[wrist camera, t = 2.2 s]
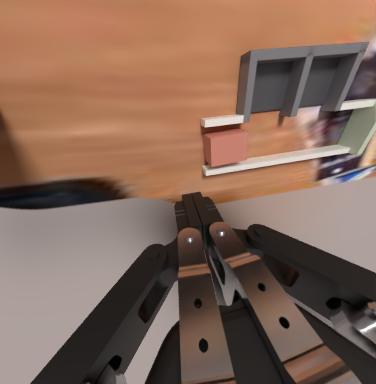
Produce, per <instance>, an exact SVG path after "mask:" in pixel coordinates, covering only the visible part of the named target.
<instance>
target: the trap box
mask: <svg viewBox="0 0 376 384" xmlns="http://www.w3.org/2000/svg"><path fill="white" fill-rule="evenodd" d="M368 44H369V42H360V43H346V44H331V45H317V46H303V47H289V48H274V49H260V50H251V51H249V52H247V53H245V54H244V55H242V56H241V63H240V74H239V86H238V98H237V109H236V114H235V115H226V116H218V117H210V118H201V126H203V127H213V126H221V125H229V124H237V123H245V122H249V119H250V113H253V112H261V111H270V110H278V109H280V114H279V116H288V117H292V116H296V115H297V111H298V108H299V107H303V106H312V105H320V104H322V106H321V109H320V111H340V110H347V109H354V110H353V112H352V115H351V117H350V119H349V121H348V123H347V125H346V127H345V129H344V131H343V133H342V135H341V137H340V139H339V142H338V144H337V145H332V146H325V147H319V148H313V149H306V150H300V151H293V152H287V153H280V154H274V155H268V156H261V157H255V158H248V159H246V160H245V161H240V162H235V163H230V164H225V165H220V166H215V167H211V166H210V165H203V166H202V171H203V172H204V174H205V175H206V176H209V175H215V174H221V173H227V172H233V171H239V170H246V169H252V168H258V167H264V166H270V165H276V164H282V163H288V162H294V161H301V160H307V159H313V158H319V157H325V156H331V155H337V154H343V153H351V154H355V155H360V154H362V152H363V150H364V149H365V147H366V145H367V143H368V142H369V140H370V138H371V137H372V135H373V133H374V132H375V130H376V99H360V100H352V101H344V99H345V97H346V95H347V92H348V90H349V88H350V86H351V83H352V81H353V79H354V76H355V74H356V72H357V69H358V67H359V65H360V63H361V60H362V58H363V56H364V53H365V51H366V49H367V46H368Z"/></svg>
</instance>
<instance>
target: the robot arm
mask: <svg viewBox="0 0 376 384" xmlns="http://www.w3.org/2000/svg"><path fill="white" fill-rule="evenodd" d="M175 214H176V221H177V227H178V235H177V237H176V239H175V240H174V241H173V242H171V243H170V244H168V245H166V246H163V245H162V244H153V245H150V246H148V247H147V248H146V249H145V250H144V251H143V252H142V253H141V255H140V256H139V257H138V258H137V259H136V260H135V262H134V263H133V264H132V265H131V266H130V268H129V269H128V270H127V271H126V272H125V273H124V275H123V276H122V277H121V278H120V279H119V280H118V282H117V283H116V284H115V285H114V286H113V287H112V289H111V290H110V291H109V292H108V293H107V295H106V296H105V297H104V298H103V299H102V300H101V301H100V303H99V304H98V305H97V306H96V307H95V308H94V310H93V311H92V312H91V313H90V314H89V316H88V317H87V318H86V319H85V320H84V321H83V323H82V324H81V325H80V326H79V327H78V328H77V330H76V331H75V332H74V333H73V334H72V335H71V337H70V338H69V339H68V340H67V341H66V342H65V344H64V345H63V346H62V347H61V348H60V350H59V351H58V352H57V353H56V354H55V355H54V357H53V358H52V359H51V360H50V361H49V363H48V364H47V365H46V366H45V367H44V368H43V370H42V371H41V372H40V373H39V374H38V375H37V376H36V378H35V379H34V380H33V381H32V382H31V383H30V384H126V378H125V376H124V373H125V371H126V369H127V368H128V366H129V364H130V362H131V360H132V359H133V357H134V355H135V353H136V351H137V350H138V348H139V346H140V344H141V342H142V340H143V339H144V337H145V335H146V333H147V331H148V329H149V328H150V326H151V324H152V322H153V320H154V319H155V317H156V315H157V313H158V311H159V310H160V308H161V306H162V304H163V302H164V301H165V299H166V297H167V295H168V293H169V291H170V289H171V288H172V286H173V284H174V282H175V281H177V280H178V297H179V321H178V322H176V324H175V325H174V326H173V327H172V328H171V329H170V331H169V332H168V334H167V335H166V337H165V339H164V341H163V343H162V345H161V347H160V349H159V351H158V354H157V356H156V358H155V361H154V363H153V365H152V368H151V370H150V372H149V374H148V377H147V379H146V382H145V384H376V273H375V272H372V271H370V270H367V269H365V268H363V267H360V266H358V265H356V264H353V263H351V262H349V261H346V260H344V259H341V258H339V257H337V256H335V255H332V254H330V253H327V252H325V251H323V250H320V249H318V248H316V247H313V246H311V245H308V244H306V243H304V242H302V241H299V240H297V239H294V238H292V237H290V236H287V235H285V234H282V233H280V232H278V231H275V230H273V229H271V228H269V227H266V226H264V225H260V224H253V225H250V226H249V227H248V229H247V230H240V229H233V228H231V226H230V225H228V224H227V223H224V221H223V219H222V217H221V215H220V213H219V212H218V210H217V209H216V206H215V205H214V203H213V201H212V200H211V199H210V198H209V197H202V195H201V192H195V193H190V194H184V195H182V201H180V202H176V204H175ZM205 248H208V250H209V254H210V260H211V263H212V265H213V267H214V270H215V272H216V275H217V277H218V280H219V282H220V285H221V287H222V290H223V294H224V298H225V302H226V305H227V306H223V305H218V303H217V299H216V294H215V289H214V285H213V281H212V276H211V272H210V269H209V267H208V265H207V260H206V256H205V252H204V249H205ZM287 293H288V294H289V295H291V296H292V297H294V298H296V299H297V300H299V301H300V302H302V303H303V304H305V305H306V306H308V307H310V308H311V309H313V310H314V311H316V312H318V313H319V314H321V315H322V316H324V317H325V318H327V319H328V320H330V321H331V322H332V324H333V329H332V328H331V327H329V326H328V325H327V324H325V323H323V322H322V321H321V320H319V319H318V318H316V317H315V316H313V315H312V314H311V313H309V312H308V311H306V310H305V309H303V308H302V307H300V306H299V305H297V304H295V303H293V302H292V300H291V299H290V297H289V296H288V295H287Z"/></svg>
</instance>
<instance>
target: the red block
mask: <svg viewBox="0 0 376 384" xmlns="http://www.w3.org/2000/svg"><path fill="white" fill-rule="evenodd" d="M203 136H204V152H205V160H206V161H207V162H208V163H209V165H210V166H211V167H215V166H220V165H225V164H230V163H235V162H240V161H245V160H246V156H247V147H248V137H249V132H248V131H245V130H242V129H238V128H235V129H229V130H223V131H217V132H212V133H206V134H203Z"/></svg>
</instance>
